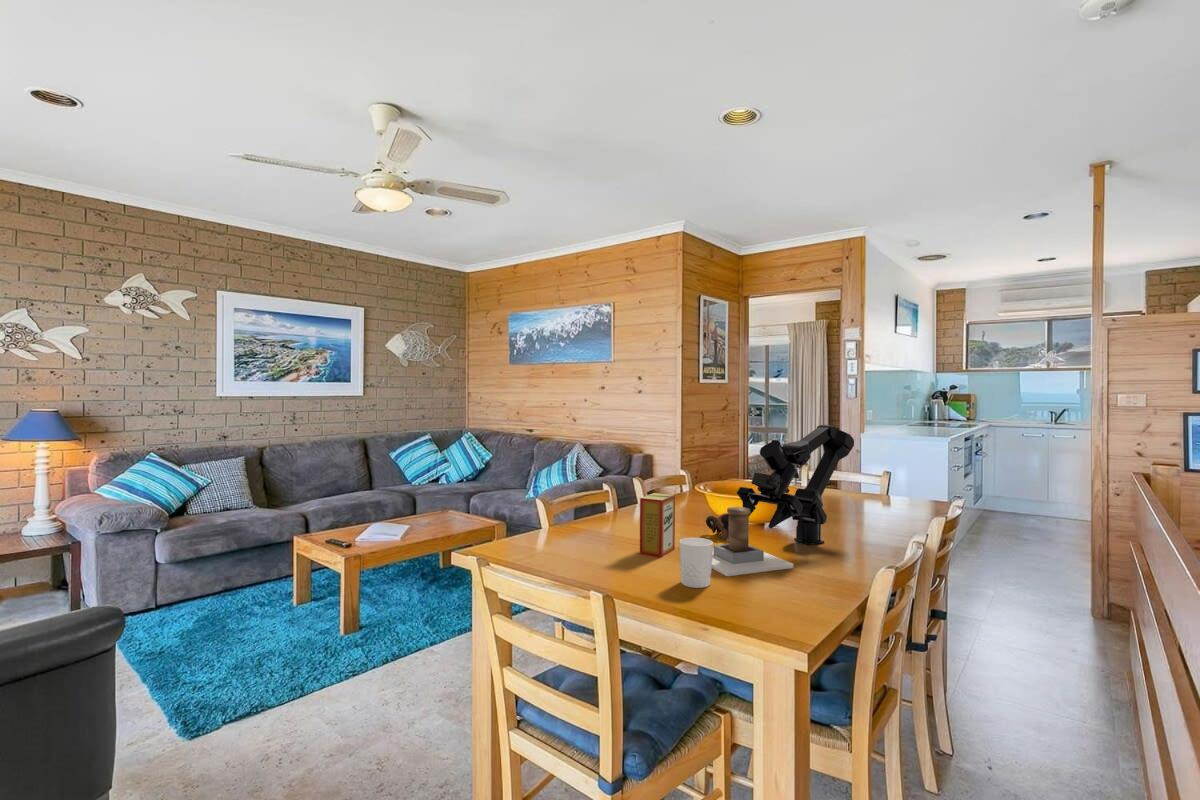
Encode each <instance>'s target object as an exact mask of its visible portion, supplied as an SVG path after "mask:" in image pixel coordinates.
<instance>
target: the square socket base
mask: <svg viewBox="0 0 1200 800" xmlns="http://www.w3.org/2000/svg"><path fill="white" fill-rule="evenodd" d="M788 569H794V563H792V562H790V561H788V560H785V559H782V558H780V557H777V556H775V555H772V554H770V553H767V552H766V551H764V550H762V549H760V548H757V547H755V546H752V545H750V544H749V548H748V551H747V552H738V553H734V552H732V551H729V543H725V544H713V552H712V568H711V570H714V571H716V572H717V573H719V574H721V575H723V576H725V577H732V576H733V577H734V576H741V575H747V574H748V575H749V574H758V573H764V572H772V571H779V570H788Z"/></svg>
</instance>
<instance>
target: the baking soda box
mask: <svg viewBox="0 0 1200 800" xmlns="http://www.w3.org/2000/svg"><path fill="white" fill-rule="evenodd" d="M675 525H676V494H668V493H667V494H666V493H658V492H657V493H656V492H653V493H651V494H647V495H645V496H643V497H642V496H641V497H640V498H639V555H643V556H649V557H655V558H663V557H664V556H667V554H669V553H671V552H673V551H675V546H676V545H675V544H676V543H675V539H676V537H675V535H676V532H675V531H676V530H675V529H676V528H675V527H676V526H675Z"/></svg>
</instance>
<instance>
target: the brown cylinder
mask: <svg viewBox="0 0 1200 800" xmlns="http://www.w3.org/2000/svg"><path fill="white" fill-rule="evenodd" d="M726 509H727V510H726V513H728V514H729V537H728V544H729V551H732V552H734V553H738V552H747V551H748V548H749V545H750V544H749V537H750V535H749V531H750V528H749V525H750V524H749V521H750V520H749V519H750V516H749V514H750V509H749V508H745V507H743V506H729V507H727V508H726Z"/></svg>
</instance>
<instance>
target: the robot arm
mask: <svg viewBox="0 0 1200 800" xmlns="http://www.w3.org/2000/svg"><path fill="white" fill-rule="evenodd" d="M854 445H855V439H854V438H853V437H852V435H851V434H850V433H848V432H846V431H843V430H841V429H839V428H837V427H836V426H834V425H832V424H830V425H829V424H819V425H817V426H816V428H814V430H812V431H811V432H810V433H808V434H807V435H805V436H804V437H802V438H801V439H800V440H797V441H796V440H795V441H791V442H787V443H785V444H783V445H782V444H781V442H780V440H778V439H772V440H771V442H768V443H766V444H765V445H763V446H762V447H761V448H760V450H759V454H760V456H761V458H762V459H763V461H764V463H765V464H766V465H767V467H768V468H769V469H770V470H772V472H771V474H767V473H761V472H760V473H759V472H754V473H753V475H752V480H751V484H752V485H754V486H756V487H757V488H756V489H757V490H758V492H760V493H757V492H755V490H754V489H753V488H752V487H749V486H748V487H747V486H740V487H739V488H738V489H737V490H736V494H737V496H738V498H739V499H740V500H741V502H742V507H745V508H749V509H750V514H749V517H750V516H751V515H752V513H753V512H754V511H755V510H756V506H757V505H758V504H759V502H761V503H767V504H771V505H774V506H775V505H776V509H775V511H774V513H773V515H772V517H771V519H770V520H769V523H768V528H769V529H773V528H774V527H776V526H778V525H779V524H781V523H782V522H784V521H786V520H788V519H790V518H792V520H793V521H796V522H797V526H795V527H796V528H795V529H796V530H795V531H796V532H795V536H796V537H794V538H793V541H795V542H799V543H802V544H803V545H804V544H805V545H815V544H816V545H817V544H824V543H825V540H822V537H821V536H822V535H821V534H822V532H821V531H822V525H825V524H826V523H827V519H828V515H827V513H826V512H825V510H824V509H823V507H824V503H823V498H822V496H823V494H824V492H825V490H826V488H827V485H828V484H829V482H830V480H831V477H832V476H833V473H834V471H835V470H836V468H837V466H838V464H839V462H840V461H841V460H843V459H844V458H846V457H847V456H849V454H850V453H851V451H852V450H853V448H854ZM821 446H822V448H823V454H822V455H821V458H820V459H819V462H818V464H817V466H816V467H815V470H814V471H813V473H812V476H811V477H810V479H809V481H808V483H807V485H806V487H805V488H801V487H800V488H796V490H795V493H794V494H789V493H790V489H789V487H790V484H791V483H792V481H793V479H799V478H800V474H799V471H798V468H796V467H795V465H796V466H805V465H806V463H808V462H809V460H811V454H812V453H813V452H814V451H815V450H817V449H818V448H819V447H821Z"/></svg>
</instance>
